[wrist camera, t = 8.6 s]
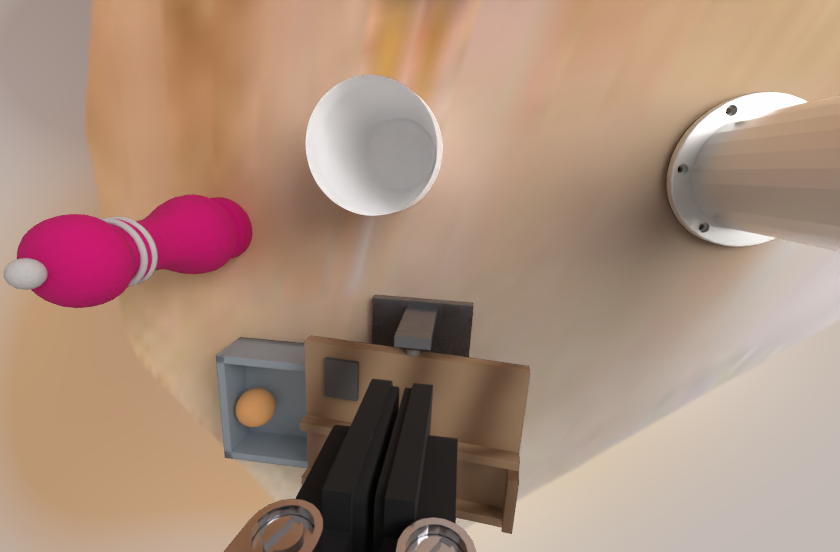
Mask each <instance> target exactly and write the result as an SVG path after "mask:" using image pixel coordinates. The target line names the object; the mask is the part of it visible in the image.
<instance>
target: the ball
mask: <svg viewBox="0 0 840 552" xmlns="http://www.w3.org/2000/svg"><path fill="white" fill-rule="evenodd" d="M275 408H276V402H275V398H274V396H273V395H272V394H271V393H270V392H269V391H268V390H266V389H263V388H253V389H250V390H248V391H246V392H245V393H243V394H242V395H241V396H240V398H239V399H238V401H237V403H236V408H235V412H236V416H237V418H238V420H239V421H240V422H241V423H242V424H243V425H245V426H248V427H258V426H261V425H264V424H265V423H267V422H268V421H269V420H270V419H271V418H272V416H273V414H274V412H275Z"/></svg>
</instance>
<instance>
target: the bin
mask: <svg viewBox="0 0 840 552" xmlns="http://www.w3.org/2000/svg"><path fill="white" fill-rule="evenodd" d="M216 363H217V374H218V385H219V397H220V408H221V419H222V431H223V442H224V453H225V458H231V459H239V460H247V461H255V462H263V463H271V464H279V465H287V466H295V467H303V468H308V459H307V431H302V430H300V422H301V420H302V419H303V418H304V417H305V416H306V380H305V343H295V342H284V341H274V340H264V339H253V338H243V337H240V338H239V339H237V340H236V341H235V342H233V343H232V344H231V345H229V346H228V347H227V348H225V349H224V350H222V351H221V352H220V353H218V354H217V355H216ZM253 388H263V389H266V390H268V391H269V392H270V393H271V394H272V395H273V396H274V398H275V402H276V408H275V412H274V414H273V416H272V418H271V419H270V420H269V421H268V422H267V423H265V424H264V425H261V426H258V427H248V426H245V425H243V424H242V423H241V422H240V421H239V420H238V418H237V416H236V412H235V408H236V403H237V401H238V399H239V398H240V396H241V395H242V394H243V393H245V392H246V391H248V390H250V389H253Z"/></svg>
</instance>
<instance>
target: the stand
mask: <svg viewBox="0 0 840 552" xmlns="http://www.w3.org/2000/svg"><path fill="white" fill-rule="evenodd" d="M472 316H473V303H468V302H456V301H444V300H432V299H420V298H408V297H396V296H384V295H375V296H374V297H373V331H372V344H375V345H382V346H389V347H396V348H403V349H406V348H413V349H420V351H425V352H432V353H439V354H446V355H454V356H461V357H468V358H469V349H470V338H471V327H472Z"/></svg>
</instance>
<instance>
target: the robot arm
mask: <svg viewBox="0 0 840 552" xmlns="http://www.w3.org/2000/svg"><path fill="white" fill-rule="evenodd" d="M726 109H727V114H726ZM678 167H680V171H679V172H678V171H677V169H678ZM666 187H667V194H668V200H669V203H670V206H671V208H672V211H673V213H674V214H675V216H676V217H677V219H678V220H679V222H680V223H681V224H682V225H683V226H684V227H685V228H686V229H687V230H688V231H689V232H691V233H692V234H694V235H695V236H697V237H699V238H700V239H703V240H706V241H709V242H711V243H715V244H719V245H723V246H732V247H745V246H754V245H758V244H762V243H766V242H769V241H772V240H774V239H776V238H778V239H783V240H788V241H793V242H797V243H802V244H807V245H812V246H816V247H821V248H826V249H831V250H835V251H840V95H839V96H834V97H829V98H824V99H819V100H814V101H810V102H807V101H806V100H804V99H803V98H800V97H797V96H794V95H791V94H789V93H782V92H774V91H770V92H755V93H751V94H747V95H743V96H739V97H736V98H733V99H730V100H728V101H725V102H723V103H721V104H719V105H717V106H716V107H714V108H712V109H710V110H709V111H708V112H706V113H705V114H704V115H702V116H701V117H700V118H698V119H697V120H696V121H695V122H694V123H693V124H692V126H691V127H690V128H689V129H688V130H687V131H686V132H685V134H684V135H683V137H682V138H681V139H680V141H679V142H678V144H677V146H676V148H675V150H674V152H673V155H672V157H671V160H670V164H669V168H668V171H667V185H666ZM700 224H701V227H700V228H699V226H700ZM399 391H400V389H399V387H397V386H393V382H392V381H391V380H381V379H372V380H371V382H370V384H369V386H368V388H367V391H366V393H365V395H364V397H363V400H362V402H361V404H360V406H359V408H358V411H357V413H356V415H355V417H354V419H353V422H352V424H351V426H345V425H334V427H333V428H332V430H331V431H330V433H329V435H328V437H327V439H326V441H325V443H324V445H323V447H322V449H321V451H320V453H319V455H318V456H317V458H316V460H315V462H314V464H313V466H312V468H311V470H310V472H309V474H308V476H307V478H306V480H305V482H304V483H303V485H302V487H301V489H300V491H299V493H298V495H297V497H296V499H287V500H280V501H277V502H275V503H272V504H269V505H268V506H266V507H264V508H263V509H261V510H259V511H258V512H257V513H256V514H255V515H254V516H253V517H252V518H251V519H250V520H249V521H248V522H247V524H246V525H245V526H244V527H243V528H242V530H241V531H240V532H239V533H238V535H237V536H236V537H235V538H234V540H233V541H232V542H231V543H230V544H229V546H228V547H227V548H226V550H225V551H224V552H476V549H475V547H474V544H473V541H472V540H471V538H470V537H469V535H468V534H467V533H466V531H465V530H463V529H462V528H461V527H459V526H458V525H457V524H455V521H456V484H457V448H458V438H450V437H441V436H432V435H430V429H431V414H432V399H433V385H430V384H420V383H413V386H412V388H406V387H405V389H404V393H403V396H402V400H401V403H400V407H399Z"/></svg>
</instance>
